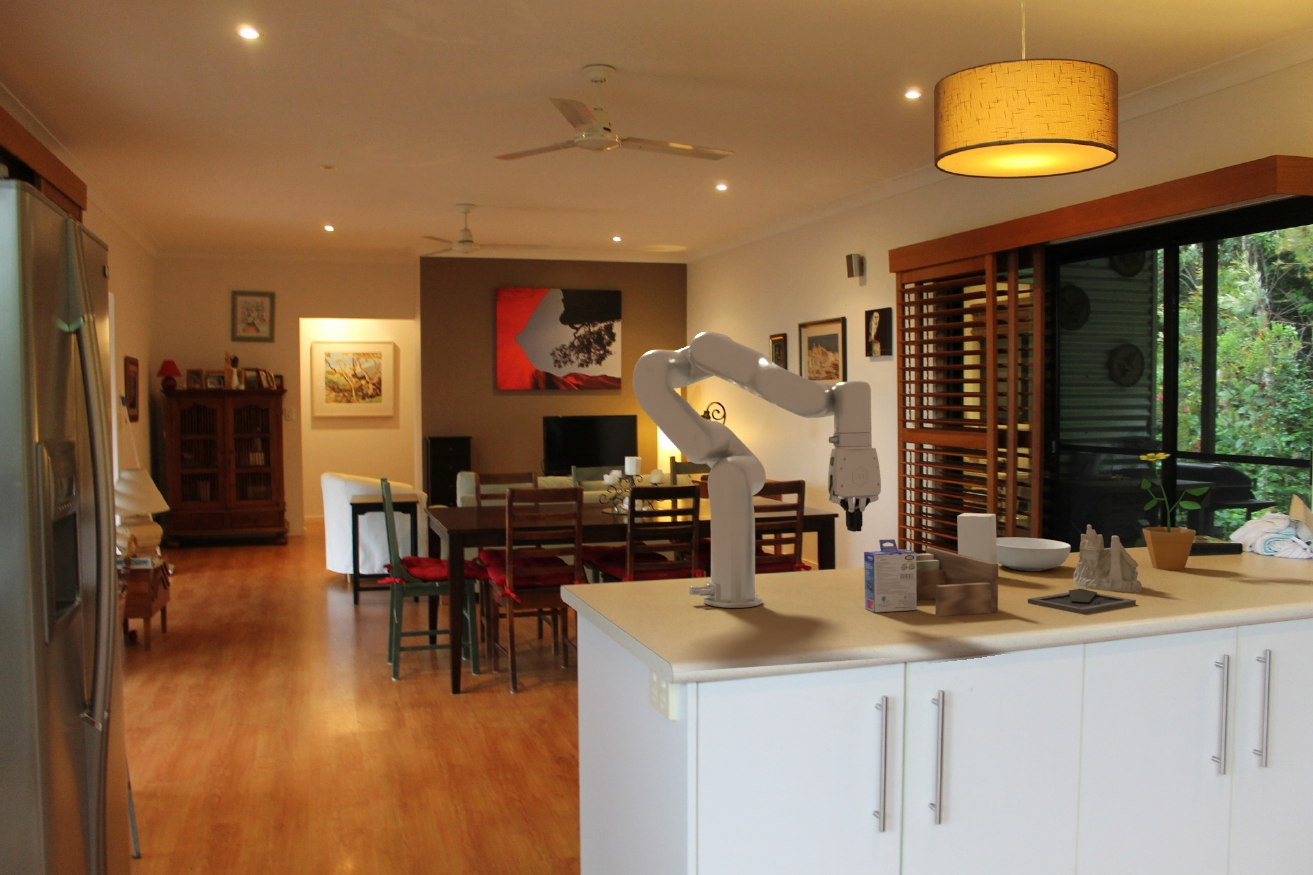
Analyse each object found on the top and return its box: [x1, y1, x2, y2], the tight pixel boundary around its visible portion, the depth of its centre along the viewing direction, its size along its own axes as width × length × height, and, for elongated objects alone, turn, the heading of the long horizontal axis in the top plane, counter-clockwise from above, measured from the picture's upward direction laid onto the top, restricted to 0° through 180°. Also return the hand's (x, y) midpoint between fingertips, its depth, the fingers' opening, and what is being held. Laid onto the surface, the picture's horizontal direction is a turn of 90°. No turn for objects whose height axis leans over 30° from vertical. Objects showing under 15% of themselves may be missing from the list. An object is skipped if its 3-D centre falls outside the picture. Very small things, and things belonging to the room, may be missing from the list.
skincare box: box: [956, 512, 998, 564], centre depth 245 cm, size 8×7×16 cm
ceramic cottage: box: [1072, 524, 1143, 593], centre depth 234 cm, size 16×16×15 cm
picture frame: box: [1027, 588, 1137, 615], centre depth 211 cm, size 13×2×18 cm
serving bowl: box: [996, 536, 1072, 572], centre depth 258 cm, size 21×21×7 cm
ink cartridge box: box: [863, 539, 918, 613], centre depth 206 cm, size 10×6×14 cm, turn 104°
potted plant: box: [1135, 451, 1211, 571], centre depth 257 cm, size 18×19×30 cm
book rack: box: [916, 547, 999, 617], centre depth 213 cm, size 14×24×10 cm, turn 17°
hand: (854, 530), depth 203 cm, fingers closed
